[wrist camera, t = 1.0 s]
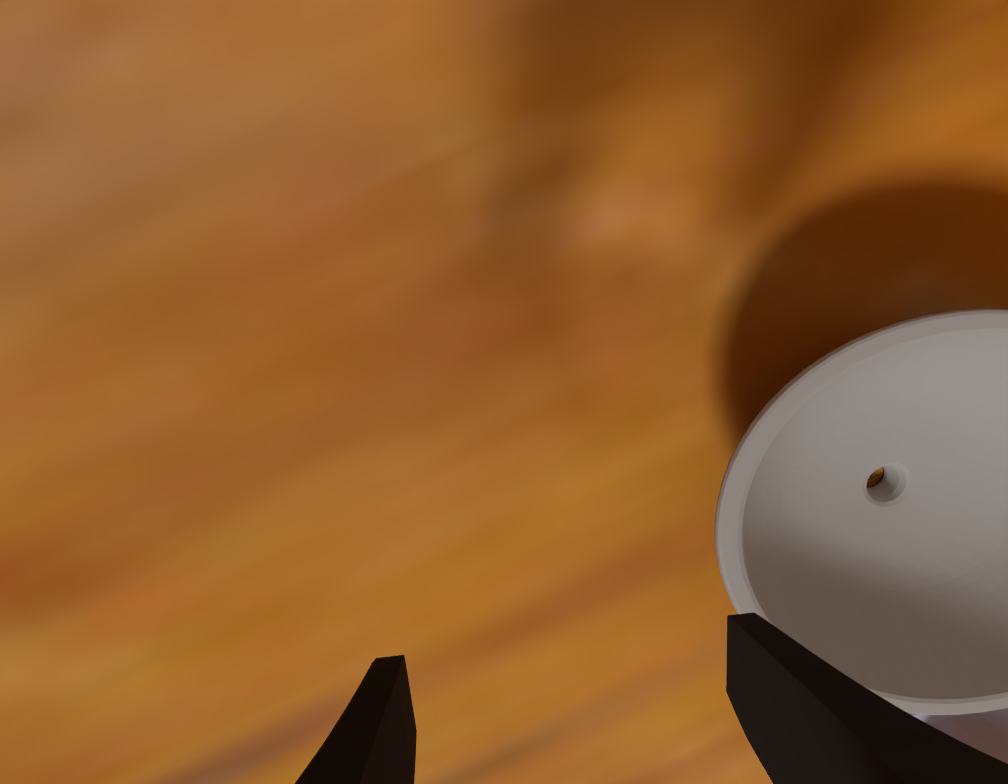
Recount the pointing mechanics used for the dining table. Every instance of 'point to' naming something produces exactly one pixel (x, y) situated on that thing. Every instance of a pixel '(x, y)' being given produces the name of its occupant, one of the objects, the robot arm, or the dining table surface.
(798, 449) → the dish
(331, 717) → the dining table surface
